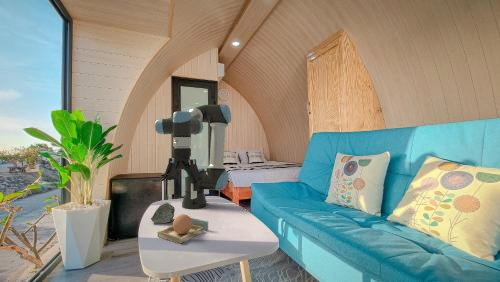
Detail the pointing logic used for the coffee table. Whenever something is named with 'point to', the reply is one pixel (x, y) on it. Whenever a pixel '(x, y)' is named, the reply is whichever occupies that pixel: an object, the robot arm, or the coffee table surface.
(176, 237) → the tray
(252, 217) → the coffee table surface
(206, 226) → the wall
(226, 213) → the coffee table surface
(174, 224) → the ball
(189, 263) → the coffee table surface
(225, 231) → the coffee table surface
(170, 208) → the stone
